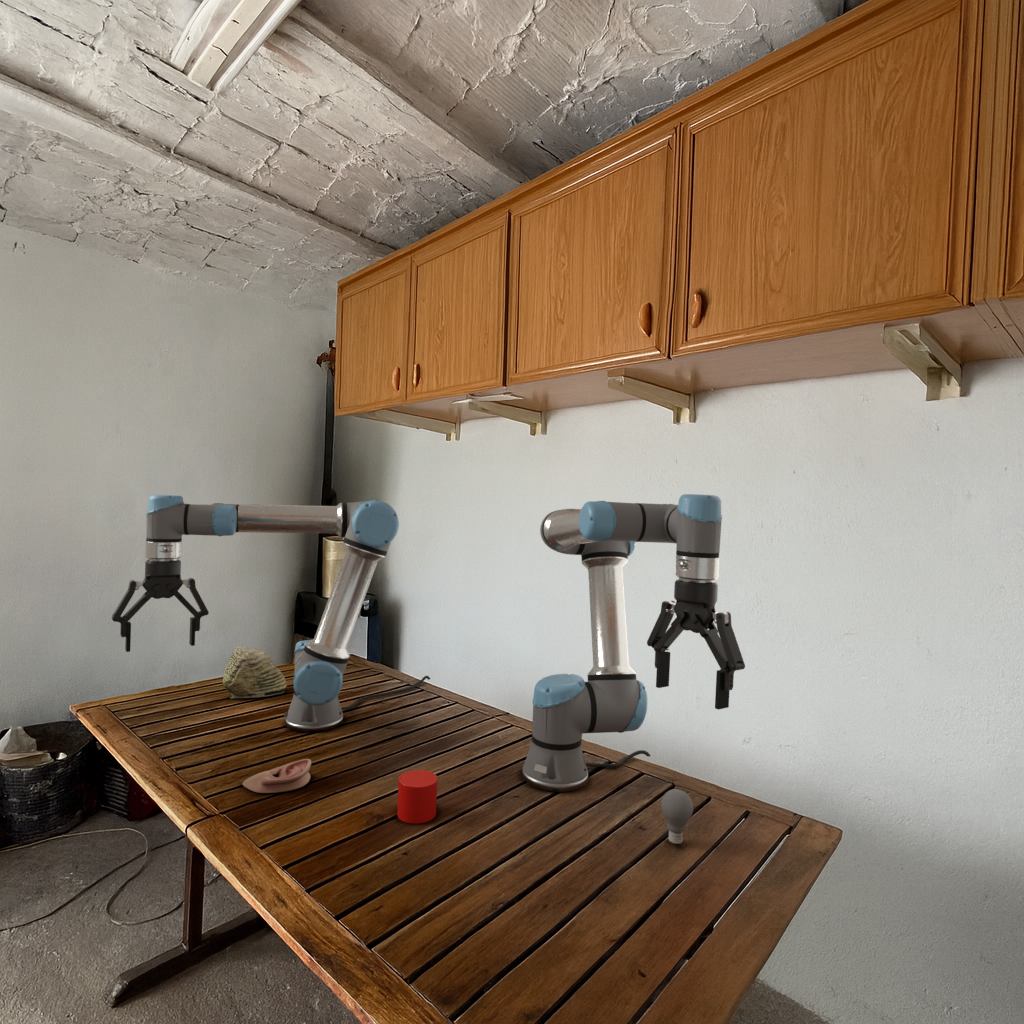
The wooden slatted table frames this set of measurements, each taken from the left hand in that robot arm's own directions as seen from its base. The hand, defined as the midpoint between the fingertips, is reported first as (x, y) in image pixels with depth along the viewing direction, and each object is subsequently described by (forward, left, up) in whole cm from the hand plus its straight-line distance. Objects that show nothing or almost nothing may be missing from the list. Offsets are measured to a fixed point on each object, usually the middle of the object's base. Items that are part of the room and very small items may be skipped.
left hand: (160, 647), depth 152 cm
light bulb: (-49, +111, -25) cm, 124 cm away
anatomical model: (-11, +35, -25) cm, 44 cm away
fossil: (-39, -25, -25) cm, 52 cm away
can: (-23, +67, -25) cm, 75 cm away
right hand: (-44, +114, +5) cm, 122 cm away
